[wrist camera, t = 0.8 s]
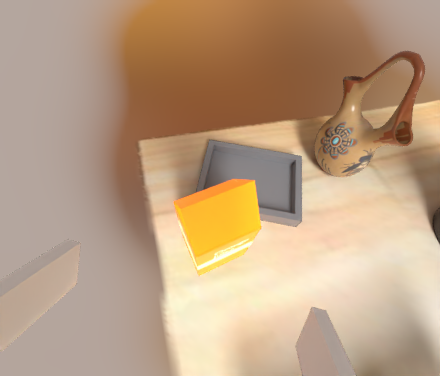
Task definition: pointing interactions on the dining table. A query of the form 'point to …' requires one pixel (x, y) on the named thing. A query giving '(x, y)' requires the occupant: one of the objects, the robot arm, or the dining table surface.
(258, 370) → the dining table surface
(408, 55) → the ceramic vessel
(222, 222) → the orange juice
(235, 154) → the tray
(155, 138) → the dining table surface
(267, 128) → the dining table surface
